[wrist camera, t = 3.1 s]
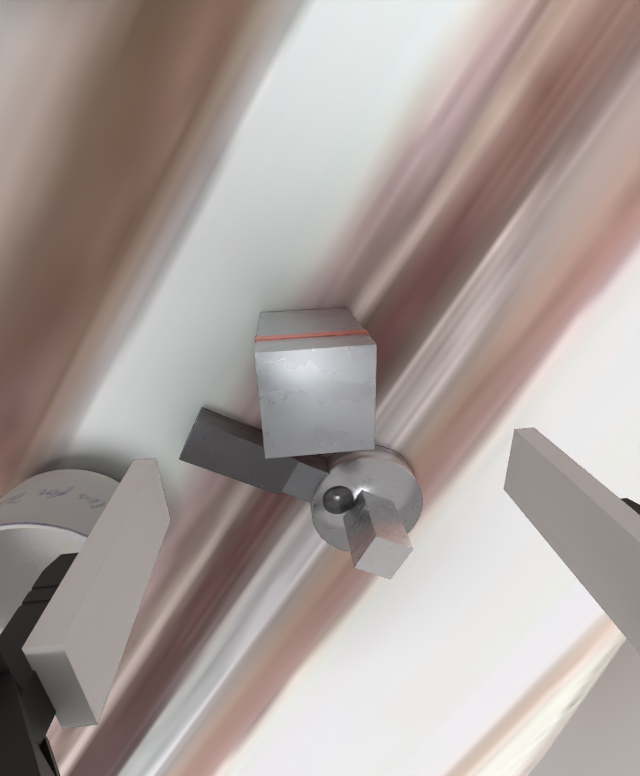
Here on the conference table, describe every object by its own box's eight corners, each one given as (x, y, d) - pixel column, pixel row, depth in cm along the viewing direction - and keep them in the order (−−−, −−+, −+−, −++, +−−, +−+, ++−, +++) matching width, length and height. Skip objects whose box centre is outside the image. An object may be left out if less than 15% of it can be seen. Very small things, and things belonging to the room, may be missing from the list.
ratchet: (172, 471, 32) (143, 541, 25) (216, 375, 29) (197, 424, 22) (379, 542, 37) (402, 617, 30) (432, 467, 34) (472, 530, 27)
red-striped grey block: (267, 392, 30) (264, 459, 22) (259, 311, 27) (252, 351, 19) (348, 386, 30) (375, 449, 22) (347, 306, 28) (377, 343, 20)
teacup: (157, 451, 31) (120, 524, 23) (164, 558, 35) (135, 648, 28) (-43, 447, 29) (-151, 524, 22) (-10, 560, 33) (-91, 657, 26)
